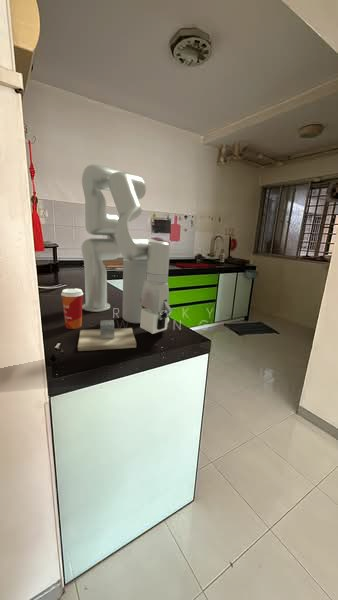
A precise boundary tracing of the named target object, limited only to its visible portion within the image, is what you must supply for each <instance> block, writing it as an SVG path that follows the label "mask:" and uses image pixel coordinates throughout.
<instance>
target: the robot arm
mask: <svg viewBox="0 0 338 600" xmlns="http://www.w3.org/2000/svg"><path fill="white" fill-rule="evenodd" d="M81 176H82V177H81V184H82V185H81V186H82V191H83V195H84V216H85V217H84V220H85V221H84V223H85V230H86V232H87V234H89V235H91V236H106V238H101V237H100V238H98V237H97V238H96V237H95V238H87V239H85V240H84V241H83V242H82V244H81V246H80V247H81V253H82V260H83V265H84V266H83V267H84V291H85V292H84V293H85V303H82V310H84V311H87V312H93V313H94V312H95V313H96V312H99V313H100V312H104V311H107V310H108V311H109V310H110V309H111V304H110V303H108V289H107V288H108V287H107V286H108V279H107V278H108V275H107V274H108V273H107V272H108V271H107V267H106V266H105V264H104V263H103V261H109V260H111V261H112V260H116V259H118V258H119V257H120V255H121V257H123V259H127V260H130V261H134V260H147V270H146V280H145V281H144V285H143V290H142V298H141V299H140V302H141V304H142V308H143V309H144V308H147V309H150V310H152V311H154V312H158V316H159V319H158V324H157V329H158V330H160V329H163V328H165V318H167V317H168V318H169V317H170V315H171V313H173V310H172V308H171V306H170V304H169V303H170V301H169V299H170V292H169V290H170V289H169V283H168V279H169V268H170V267H169V266H170V256H171V244H170V243H169V242H167V241H161V240H155V239H153V238H143V237H142V238H139V237H132V235H131V231H130V228H129V222H132V221H134V220H136V219H137V218H139V217H140V215H141V214H142V211H143V210H142V205H141V203H140V200H142V199H143V198H144V197H145V195H146V191H147V187H146V183H145V180H143V178H142V177H140V175H136V174H132V173H130V172H126V171H124V170H121V169H117V168H112V167H109V166H105V165H101V164H89V165H86V167H85V168H84V170H83V172H82V175H81ZM102 191H108V192H110V193H111V197H112V199H113V201H114V205H115V208H116V210H117V212H118V215H117V214H115V213H109V212H107V200H106V198H105V196H104V194H103V192H102ZM165 310H166V311H165ZM161 312H163V315H162V314H161Z"/></svg>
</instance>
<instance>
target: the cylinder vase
mask: <svg viewBox="0 0 338 600" xmlns="http://www.w3.org/2000/svg"><path fill="white" fill-rule="evenodd" d="M146 270H147V260H134V261H130V260H127V259H125V258H123V260H122V319H123V320H124V321H125V322H127V323H129V324H130V323H131V324H140V320H141V309H143V308H142V304H141V302H140V299H141V298H142V290H143V285H144V281H145V280H146Z"/></svg>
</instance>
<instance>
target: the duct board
mask: <svg viewBox="0 0 338 600" xmlns="http://www.w3.org/2000/svg"><path fill="white" fill-rule="evenodd" d="M132 348H133V349H134V348H135V349H136V348H137V340H136V338H135V334H134V331H133V327H124V328H114V339H101V328H98V329H96V328H95V329H80V331H79V337H78V343H77V352H84V351H85V352H86V351H100V350H101V351H103V350H117V349H118V350H119V349H132Z"/></svg>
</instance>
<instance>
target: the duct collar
mask: <svg viewBox="0 0 338 600" xmlns="http://www.w3.org/2000/svg"><path fill="white" fill-rule="evenodd" d="M165 311H166V310H165ZM161 314H162V315H163V312H161ZM158 319H159V316H158V312H154V311H152V310H150V309H147V308H144V309H141V320H140V323H139V324H140V326H139V328H140V329H143V330H145V331H147V332H149V333H150V334H152V335H153V334H157V333H160V332H162V331H166V330H167V329H168V324H169V323H170V317H169V316H168V317H167V318H165V328H163V329H160V330H158V329H157V324H158Z"/></svg>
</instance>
